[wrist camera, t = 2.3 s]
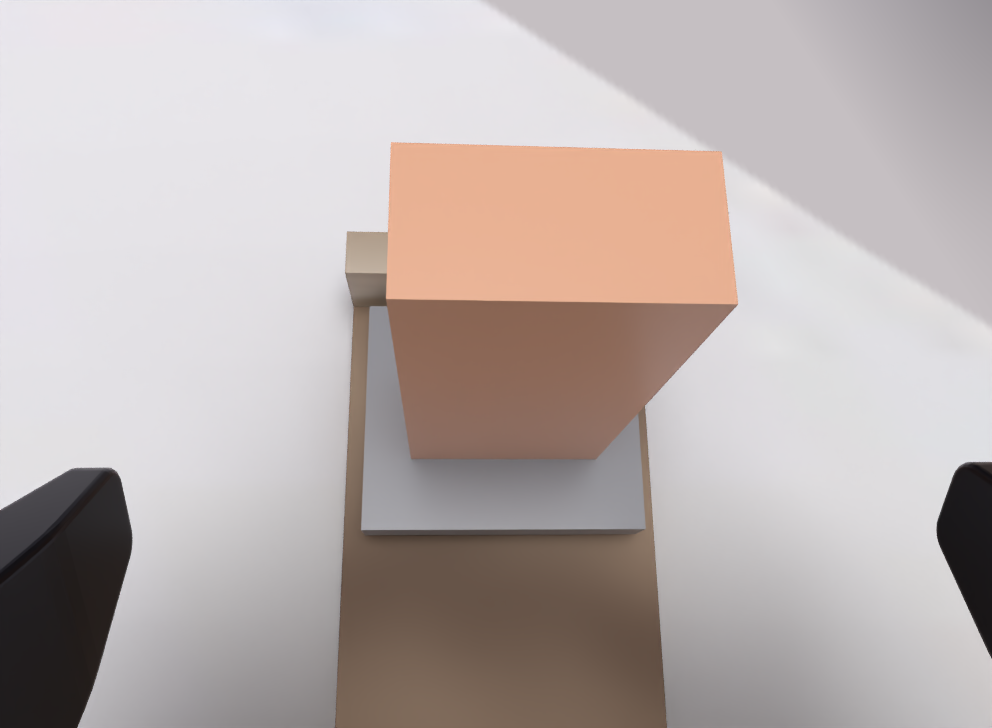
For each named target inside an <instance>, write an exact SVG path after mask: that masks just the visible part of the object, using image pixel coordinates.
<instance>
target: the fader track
mask: <svg viewBox="0 0 992 728" xmlns="http://www.w3.org/2000/svg"><path fill="white" fill-rule="evenodd" d="M387 252H388V232H347V243H346V264H345V274H346V278H347V282H348V286H349V290H350V294H351V298H352V301H353V305H354V314H353V337H352V359H351V382H350V404H349V427H348V449H347V472H346V494H345V517H344V539H343V562H342V584H341V607H340V629H339V652H338V674H337V697H336V719H335V728H667V722H666V707H665V693H664V678H663V663H662V649H661V634H660V619H659V605H658V590H657V575H656V561H655V546H654V531H653V517H652V502H651V487H650V473H649V458H648V443H647V429H646V414H645V406H644V407H643V408H642V410H641V411H640V412H639V413H638V418H639V434H640V449H641V464H642V479H643V495H644V510H645V525H646V529H645V530H643V531H641V532H639V533H637V534H580V535H365V534H364V533H363V532H362V531H361V521H362V495H363V468H364V442H365V416H366V390H367V364H368V337H369V311H370V306H387V302H386V283H387Z"/></svg>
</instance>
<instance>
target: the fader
mask: <svg viewBox="0 0 992 728" xmlns="http://www.w3.org/2000/svg"><path fill="white" fill-rule="evenodd" d="M386 302H387V306H370V311H369V337H368V364H367V390H366V416H365V442H364V468H363V495H362V521H361V531H362V532H363V533H364V534H365V535H580V534H637V533H639V532H641V531H643V530H645V529H646V525H645V510H644V495H643V479H642V464H641V449H640V434H639V418H638V413H639V412H640V411H641V410H642V408H643V407H644V406H645V405H646V404H647V403H648V402H649V401H650V400H651V399H652V398H653V396H654V395H655V394H656V393H657V392H658V391H659V390H660V389H661V388H662V387H663V386H664V384H665V383H666V382H667V381H668V380H669V379H670V378H671V377H672V376H673V375H674V374H675V372H676V371H677V370H678V369H679V368H680V367H681V366H682V365H683V364H684V363H685V362H686V361H687V359H688V358H689V357H690V356H691V355H692V354H693V353H694V352H695V351H696V350H697V349H698V347H699V346H700V345H701V344H702V343H703V342H704V341H705V340H706V339H707V338H708V337H709V335H710V334H711V333H712V332H713V331H714V330H715V329H716V328H717V327H718V326H719V325H720V323H721V322H722V321H723V320H724V319H725V318H726V317H727V316H728V315H729V314H730V313H731V311H732V310H733V309H734V308H735V307H736V306H737V305H738V299H737V290H736V281H735V271H734V262H733V253H732V244H731V234H730V225H729V216H728V206H727V197H726V188H725V179H724V169H723V160H722V152H720V151H684V150H647V149H611V148H575V147H538V146H502V145H465V144H429V143H393V142H391V158H390V189H389V220H388V252H387V283H386Z"/></svg>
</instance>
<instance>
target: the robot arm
mask: <svg viewBox="0 0 992 728" xmlns="http://www.w3.org/2000/svg"><path fill="white" fill-rule="evenodd" d="M937 538H938V542H939V545H940V548H941V550H942V552H943V554H944V556H945V559H946V561H947V563H948V565H949V567H950V570H951V572H952V574H953V576H954V578H955V580H956V583H957V585H958V587H959V589H960V591H961V594H962V596H963V598H964V600H965V602H966V604H967V607H968V609H969V611H970V613H971V615H972V618H973V620H974V622H975V624H976V626H977V628H978V631H979V633H980V635H981V637H982V639H983V642H984V644H985V646H986V648H987V650H988V652H989V654H990V656H991V658H992V462H967V463H964V464H962V465H961V466H959V467H958V469H957V470H956V471H955V473H954V475H953V478H952V481H951V484H950V487H949V489H948V492H947V495H946V498H945V501H944V503H943V506H942V509H941V512H940V515H939V518H938V521H937ZM131 550H132V530H131V525H130V520H129V515H128V511H127V506H126V501H125V496H124V492H123V487H122V482H121V479H120V477H119V475H118V473H117V472H116V471H115V470H113V469H112V468H74V469H71V470H69V471H67V472H65V473H64V474H62V475H60V476H58V477H57V478H55V479H53V480H51V481H50V482H48V483H46V484H45V485H43V486H41V487H39V488H38V489H36V490H34V491H32V492H31V493H29V494H27V495H26V496H24V497H22V498H20V499H19V500H17V501H15V502H13V503H12V504H10V505H8V506H7V507H5V508H3V509H1V510H0V728H77V727H78V724H79V722H80V720H81V717H82V715H83V712H84V710H85V707H86V704H87V702H88V699H89V697H90V694H91V691H92V689H93V686H94V683H95V679H96V676H97V673H98V670H99V666H100V663H101V659H102V656H103V652H104V649H105V645H106V641H107V638H108V634H109V631H110V627H111V624H112V620H113V616H114V613H115V609H116V606H117V602H118V599H119V595H120V591H121V588H122V584H123V581H124V577H125V574H126V570H127V566H128V563H129V559H130V556H131Z"/></svg>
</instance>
